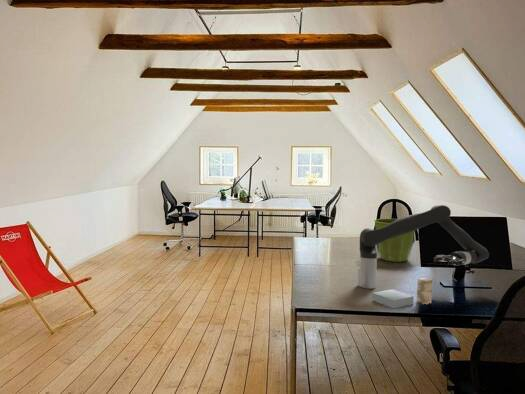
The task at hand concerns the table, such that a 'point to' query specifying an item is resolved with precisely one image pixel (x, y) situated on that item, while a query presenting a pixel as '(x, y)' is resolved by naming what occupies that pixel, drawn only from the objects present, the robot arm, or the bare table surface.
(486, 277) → the table surface
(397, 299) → the base
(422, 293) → the beech block
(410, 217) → the robot arm
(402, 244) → the plant pot
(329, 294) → the table surface
